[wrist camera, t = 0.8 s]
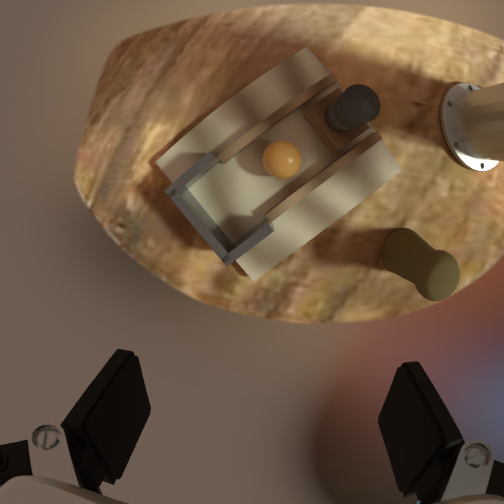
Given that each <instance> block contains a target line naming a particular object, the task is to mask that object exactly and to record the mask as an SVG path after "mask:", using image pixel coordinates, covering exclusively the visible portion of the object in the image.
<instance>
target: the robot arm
mask: <svg viewBox="0 0 504 504" xmlns="http://www.w3.org/2000/svg"><path fill="white" fill-rule="evenodd" d="M440 119H441V126H442V131H443V134H444V137H445V140H446V143H447V145H448V147H449V149H450V150H451V152H452V153H453V155H454V156H455V158H456V159H457V160H458V161H459V162H460V163H461V164H463V165H464V166H465V167H467V168H469V169H471V170H474V171H482V172H484V171H488V170H490V169H492V168H494V167H495V166H496V165H497V164H498V162H499V161H504V83H501V84H497V85H493V86H489V87H486V88H482V89H481V88H479V87H478V86H476V85H474V84H471V83H459V84H456V85H453V86H452V87H451V88H449V89H448V90H447V92H446V93H445V95H444V97H443V99H442V103H441V109H440ZM150 411H151V406H150V402H149V399H148V395H147V391H146V387H145V384H144V379H143V375H142V371H141V367H140V362H139V358H138V357H137V356H135V355H134V353H133V352H132V351H127V350H122V349H117V350H116V351H115V353H114V354H113V355H112V357H111V358H110V359H109V361H108V362H107V363H106V364H105V366H104V367H103V368H102V370H101V371H100V372H99V374H98V375H97V376H96V378H95V379H94V380H93V381H92V382H91V384H90V385H89V386H88V388H87V389H86V390H85V392H84V393H83V394H82V396H81V397H80V399H79V400H78V401H77V403H76V404H75V406H74V407H73V408H72V410H71V411H70V412H69V414H68V415H67V417H66V418H65V419H64V421H63V422H62V423H61V425H58V424H56V423H54V422H50V421H49V422H41V423H38V424H37V425H35V426H34V427H33V428H32V429H31V430H30V432H29V434H28V440H24V441H20V442H14V443H9V444H4V445H0V504H128V503H124V502H121V501H118V500H115V499H112V498H109V497H106V496H103V494H102V492H101V489H100V487H99V486H100V485H101V483H102V481H104V482H107V483H110V484H113V485H114V483H115V481H116V479H120V478H121V477H122V474H123V472H124V470H125V468H126V466H127V463H128V461H129V459H130V456H131V455H132V452H133V450H134V448H135V445H136V443H137V441H138V439H139V437H140V435H141V432H142V430H143V428H144V426H145V424H146V422H147V419H148V417H149V415H150ZM378 424H379V427H380V430H381V434H382V437H383V440H384V443H385V446H386V449H387V452H388V456H389V459H390V462H391V466H392V469H393V473H394V476H395V479H396V483H397V486H398V490H399V491H400V492H403V495H404V498H406V497H410V496H413V495H417V498H418V502H417V504H504V463H500V462H498V461H495V460H494V453H493V450H492V448H491V447H490V446H489V445H488V444H487V443H486V442H484V441H481V440H470V441H468V442H466V443H465V442H464V440H463V437H462V435H461V433H460V431H459V429H458V427H457V426H456V424H455V422H454V420H453V418H452V417H451V415H450V413H449V411H448V410H447V408H446V406H445V404H444V403H443V401H442V399H441V398H440V396H439V394H438V392H437V391H436V389H435V387H434V386H433V384H432V382H431V381H430V379H429V377H428V376H427V374H426V373H425V371H424V369H423V368H422V366H421V365H420V363H419V362H417V361H415V362H405V363H403V364H402V365H401V367H398V368H397V371H396V374H395V376H394V379H393V382H392V385H391V387H390V390H389V392H388V395H387V398H386V400H385V402H384V405H383V408H382V410H381V412H380V414H379V418H378Z"/></svg>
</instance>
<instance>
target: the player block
mask: <svg viewBox="0 0 504 504" xmlns="http://www.w3.org/2000/svg"><path fill="white" fill-rule="evenodd" d="M379 111H380V101H379V98H378V96H377V95H376V93H375V92H374V91H373V90H372V89H371V88H369V87H367V86H365V85H360V84H357V85H352V86H350V87H349V88H347V89H346V90H345V91H344V92H342V90H341V89H340V88H337V89H336V90H334V91H333V92H331V93H330V94H328V95H327V96H325V97H324V98H322V99H321V100H319V101H318V102H316V103H315V104H314V105H312V106H311V107H309V108H308V109H307V111H306V112H305V114H304V115H303V116H304V117H305V119H306V120H307V121H308V122H309V123H310V125H311V126H312V127H313V128H314V130H315V131H316V132H317V134H318V135H319V136H320V137H321V139H322V140H323V141H324V143H325V144H326V145H327V147H328V148H329V149H330V151H331V152H333V151H336V150H340V149H342V148H343V147H344V146H346V145H347V144H348V143H350V142H351V141H353V140H354V139H355V138H357V137H358V136H359V135H361V134H362V133H364V132H365V131H366V130H368V129H369V128H370V127H369V125H368V124H367V122H369V121H371V120H373V119H375V118H376V117H377V115H378V114H379Z"/></svg>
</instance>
